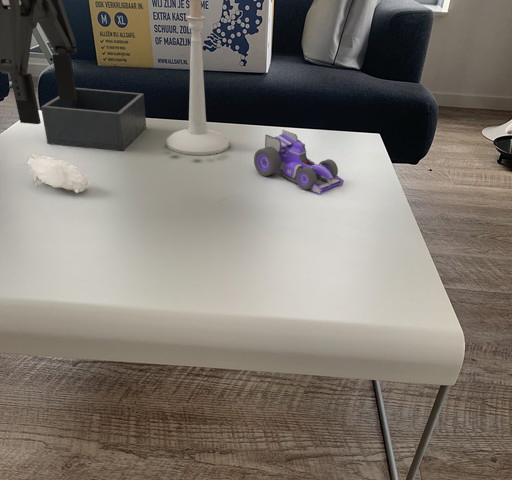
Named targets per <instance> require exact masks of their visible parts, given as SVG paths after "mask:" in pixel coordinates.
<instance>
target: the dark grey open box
mask: <svg viewBox="0 0 512 480" xmlns="http://www.w3.org/2000/svg"><path fill="white" fill-rule="evenodd" d="M76 94H77V100H67V99H59V95H58V96H56V97H55V98H53V99H51V100H50V101H48V102H46V103H45V104H43V105H41V106H40V110H41V115H42V121H43V126H44V132H45V137H46V138H45V139H46V144H48V145H58V146H67V147H79V148H87V149H88V148H90V149H100V150H110V151H121V152H124V151H125V150H126V149H127V148H128V147H129V146H130V145H131V144H132V143H133V142H134V141H135V140H136V139H137V138H138V137H139V136H140V135H141V134H142V133H143V132H144V130H145V129H147V117H146V105H145V93H139V92H129V91H128V92H127V91H117V90H106V89H105V90H104V89H93V88H85V87H84V88H82V87H76Z"/></svg>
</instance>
